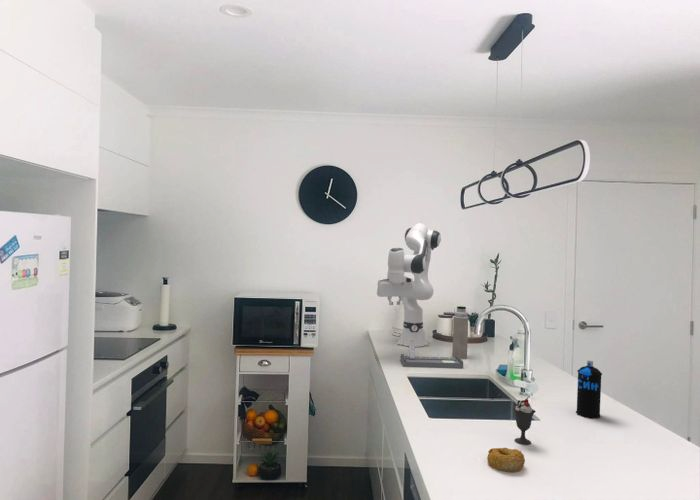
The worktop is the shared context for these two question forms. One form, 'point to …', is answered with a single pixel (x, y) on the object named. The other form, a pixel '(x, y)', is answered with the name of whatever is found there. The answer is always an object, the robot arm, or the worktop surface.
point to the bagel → (506, 459)
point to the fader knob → (412, 349)
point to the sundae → (523, 419)
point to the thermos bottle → (460, 333)
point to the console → (432, 362)
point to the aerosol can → (589, 391)
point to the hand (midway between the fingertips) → (394, 305)
